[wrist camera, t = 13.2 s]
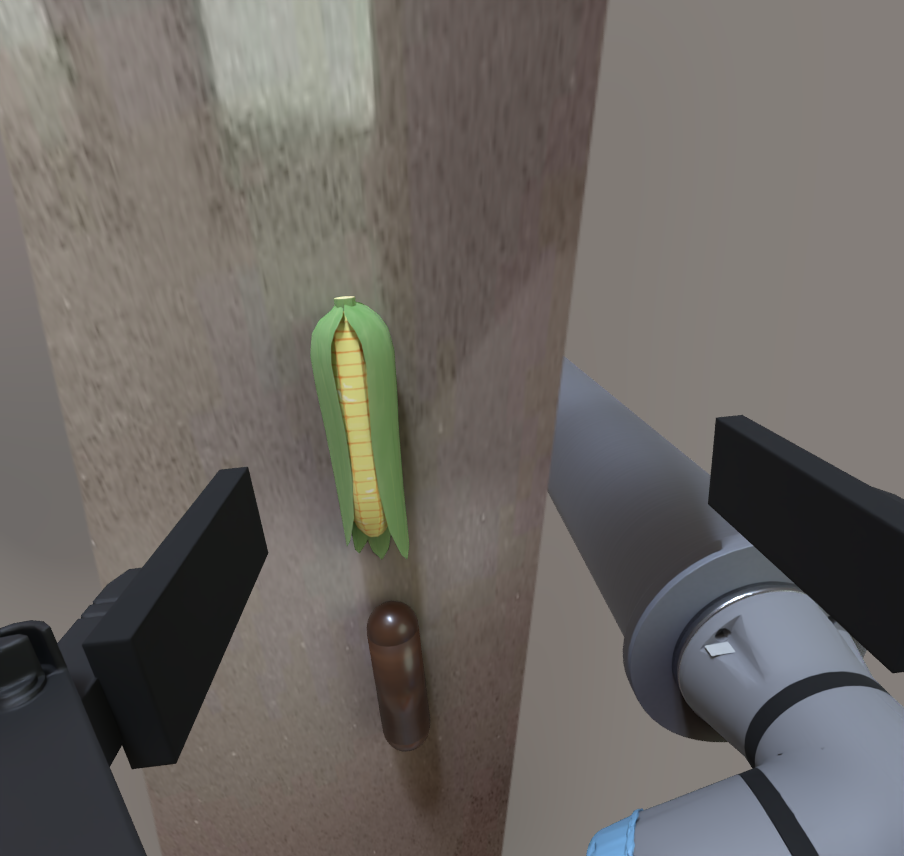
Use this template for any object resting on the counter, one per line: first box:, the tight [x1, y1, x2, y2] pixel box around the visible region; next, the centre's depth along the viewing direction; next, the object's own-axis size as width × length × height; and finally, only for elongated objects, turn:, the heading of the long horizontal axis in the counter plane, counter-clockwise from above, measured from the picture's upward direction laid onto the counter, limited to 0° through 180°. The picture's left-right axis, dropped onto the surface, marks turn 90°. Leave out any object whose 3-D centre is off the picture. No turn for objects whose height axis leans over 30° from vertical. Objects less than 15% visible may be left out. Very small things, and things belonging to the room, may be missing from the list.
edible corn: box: [310, 296, 409, 559], centre depth 36 cm, size 5×20×5 cm, turn 4°
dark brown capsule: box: [367, 601, 430, 751], centre depth 44 cm, size 14×4×4 cm, turn 4°
